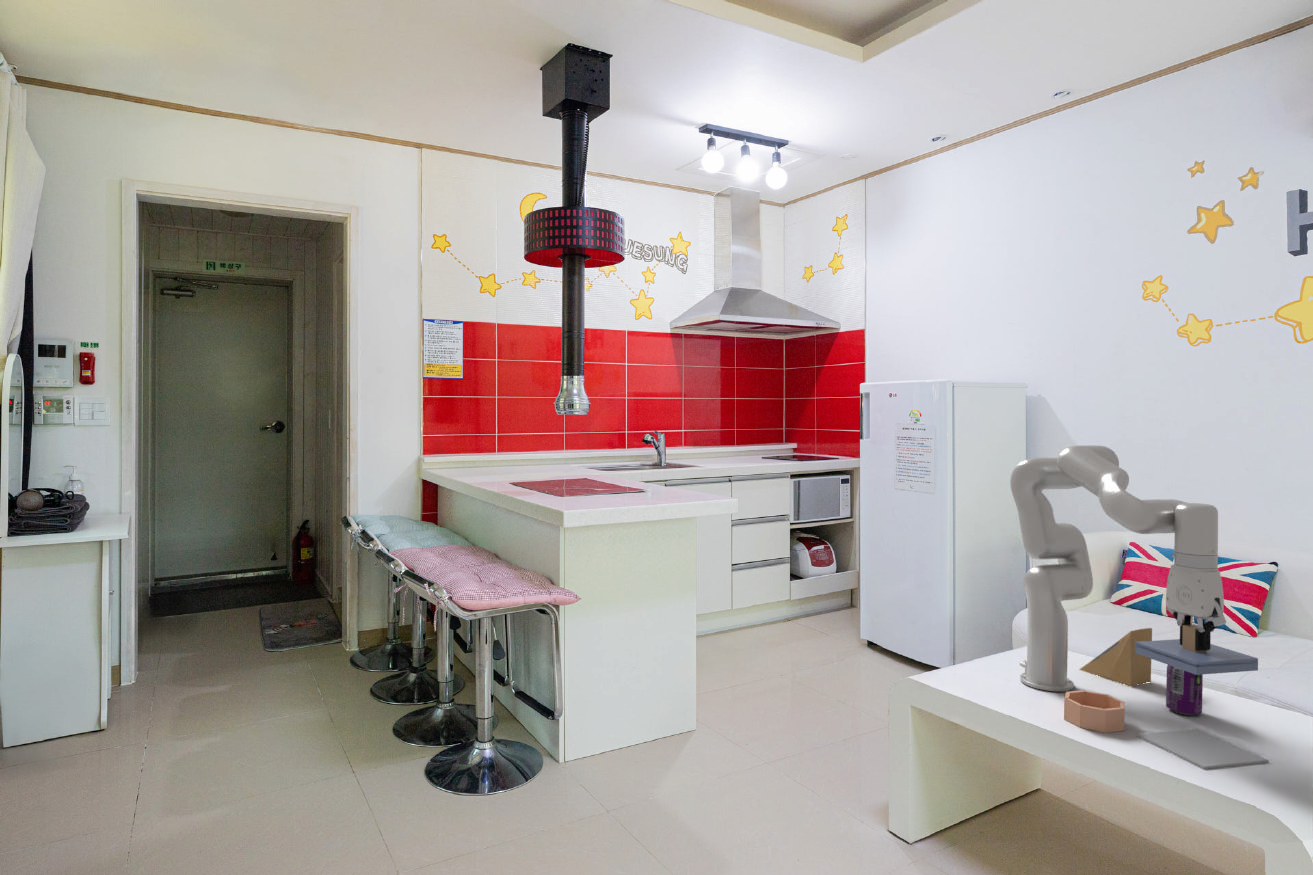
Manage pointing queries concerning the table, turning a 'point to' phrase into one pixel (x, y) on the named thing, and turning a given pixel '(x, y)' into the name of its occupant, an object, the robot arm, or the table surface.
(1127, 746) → the table surface
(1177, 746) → the mat
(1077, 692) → the bowl
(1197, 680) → the beverage can
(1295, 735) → the table surface
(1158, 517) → the robot arm
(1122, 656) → the sandwich container
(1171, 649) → the cover
